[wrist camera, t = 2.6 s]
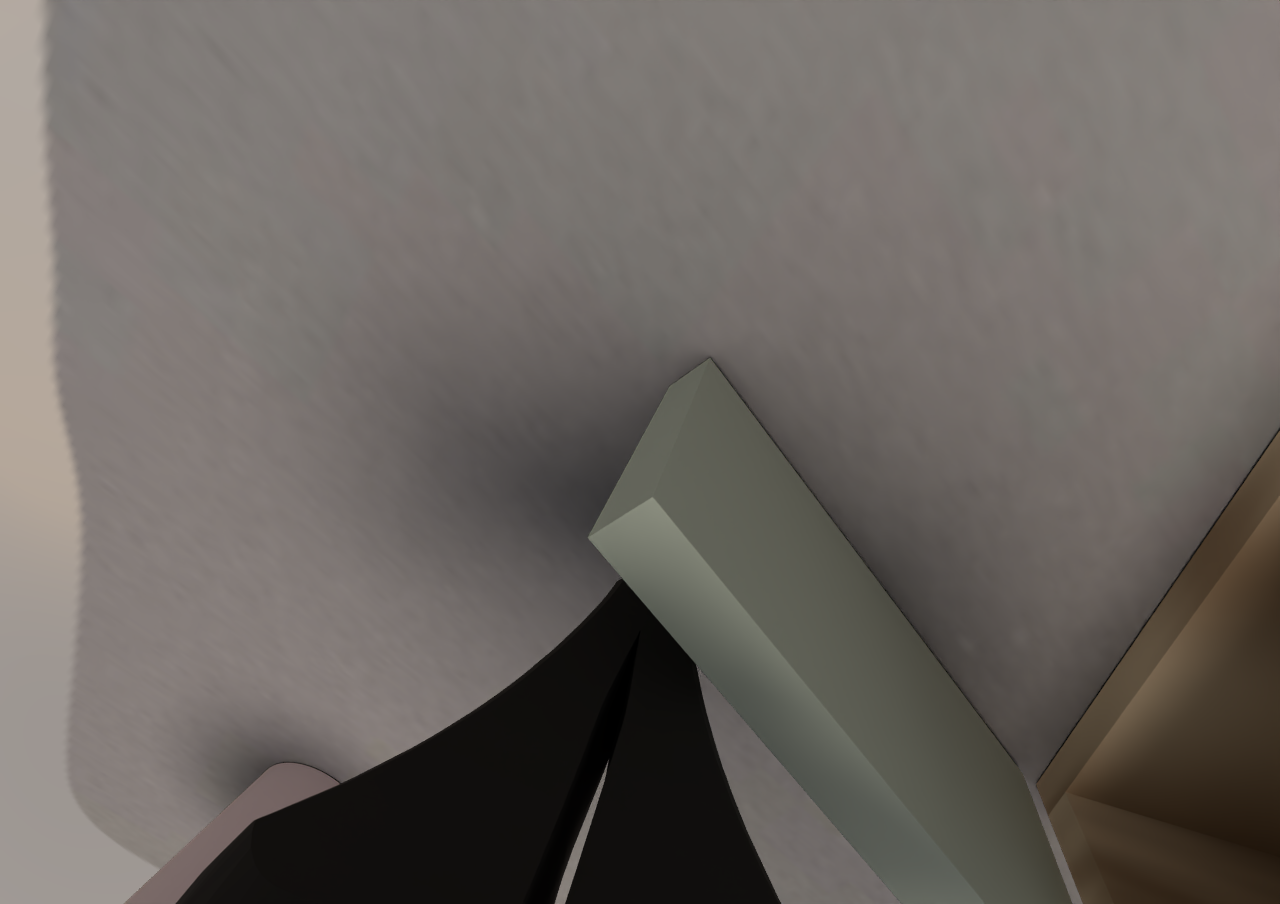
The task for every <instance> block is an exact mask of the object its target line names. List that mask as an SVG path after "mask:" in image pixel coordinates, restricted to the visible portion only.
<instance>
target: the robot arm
mask: <svg viewBox="0 0 1280 904" xmlns="http://www.w3.org/2000/svg"><path fill="white" fill-rule="evenodd" d="M608 760H609V762H608ZM607 763H608V767H607V772H606V777H605V782H604V785H603V788H602V791H601V794H600V797H599V801H598V804H597V807H596V810H595V813H594V816H593V820H592V823H591V826H590V829H589V832H588V835H587V838H586V841H585V844H584V847H583V851H582V854H581V857H580V860H579V863H578V866H577V869H576V872H575V875H574V878H573V881H572V884H571V887H570V891H569V894H568V897H567V900H566V903H565V904H781V902H780V900H779V898H778V896H777V894H776V892H775V890H774V888H773V886H772V883H771V881H770V879H769V877H768V875H767V873H766V871H765V869H764V866H763V864H762V862H761V860H760V858H759V856H758V854H757V851H756V849H755V847H754V845H753V843H752V841H751V839H750V836H749V834H748V832H747V830H746V827H745V825H744V822H743V820H742V817H741V815H740V812H739V810H738V807H737V805H736V802H735V800H734V797H733V795H732V792H731V789H730V786H729V784H728V781H727V778H726V775H725V773H724V770H723V767H722V764H721V761H720V758H719V755H718V751H717V748H716V745H715V742H714V738H713V735H712V731H711V727H710V724H709V720H708V717H707V713H706V709H705V705H704V700H703V696H702V691H701V687H700V682H699V677H698V672H697V667H696V664H695V662H694V661H693V660H692V659H691V658H690V657H689V655H688V654H687V653H686V652H685V651H684V650H683V648H682V647H681V646H680V645H679V644H678V643H677V641H676V640H675V639H674V638H673V637H672V636H671V634H670V633H669V632H668V631H667V630H666V629H665V627H664V626H663V625H662V624H661V623H660V622H659V620H658V619H657V618H656V617H655V616H654V615H653V613H652V612H651V611H650V610H649V609H648V608H647V606H646V605H645V604H644V603H643V602H642V601H641V599H640V598H639V597H638V596H637V595H636V594H635V592H634V591H633V590H632V589H631V588H630V587H629V586H628V584H627V583H626V582H625V581H624V580H623V579H620V580H618V581H617V583H616V584H615V585H614V587H613V588H612V589H611V591H610V592H609V593H608V594H607V596H606V597H605V598H604V599H603V600H602V602H601V603H600V604H599V605H598V606H597V607H596V608H595V609H594V610H593V611H592V613H591V614H590V615H589V616H588V617H587V618H586V619H585V620H584V621H583V622H582V623H581V624H580V625H579V626H578V627H577V628H576V629H575V630H574V631H573V632H571V633H570V634H569V635H568V636H567V637H566V638H565V639H564V640H563V641H562V642H561V643H560V644H559V645H558V646H557V647H556V648H554V649H553V650H552V651H551V652H550V653H549V654H547V655H546V656H545V657H544V658H543V659H541V660H540V661H539V662H538V663H537V664H535V665H534V666H533V667H532V668H531V669H530V670H528V671H527V672H526V673H525V674H524V675H522V676H521V677H520V678H518V679H517V680H516V681H514V682H513V683H512V684H511V685H509V686H508V687H507V688H505V689H504V690H503V691H501V692H500V693H498V694H497V695H496V696H494V697H493V698H491V699H490V700H488V701H487V702H486V703H484V704H483V705H481V706H480V707H478V708H477V709H475V710H474V711H472V712H471V713H469V714H468V715H466V716H464V717H463V718H461V719H460V720H458V721H456V722H455V723H453V724H452V725H450V726H448V727H447V728H445V729H444V730H442V731H440V732H439V733H437V734H435V735H434V736H432V737H430V738H428V739H427V740H425V741H423V742H422V743H420V744H418V745H416V746H414V747H413V748H411V749H409V750H407V751H405V752H403V753H401V754H399V755H397V756H395V757H393V758H391V759H389V760H387V761H385V762H383V763H381V764H379V765H378V766H376V767H374V768H372V769H370V770H368V771H366V772H364V773H362V774H360V775H358V776H356V777H354V778H352V779H350V780H348V781H345V782H343V783H341V784H339V785H337V786H334V787H332V788H330V789H327V790H325V791H323V792H320V793H318V794H316V795H313V796H311V797H308V798H306V799H304V800H301V801H299V802H297V803H294V804H292V805H290V806H287V807H285V808H282V809H280V810H278V811H275V812H273V813H271V814H268V815H266V816H263V817H261V818H258V819H256V820H254V821H253V822H252V823H251V824H250V825H248V826H247V827H246V828H245V829H244V830H243V831H242V832H241V833H240V834H239V835H238V836H237V837H236V838H235V839H234V840H233V841H232V842H231V843H230V844H229V845H228V846H227V847H226V848H225V849H224V850H223V851H222V852H221V853H220V854H219V855H218V856H217V857H216V858H215V859H214V860H213V861H212V862H211V863H210V864H209V865H208V866H207V867H206V868H205V869H204V870H203V871H202V873H201V874H200V875H199V876H198V877H197V878H196V880H195V881H194V882H193V883H192V884H191V886H190V887H189V888H188V889H187V890H186V892H185V893H184V894H183V895H182V896H181V898H180V899H179V900H178V901H177V902H176V904H555V900H556V897H557V894H558V891H559V887H560V884H561V881H562V878H563V875H564V872H565V869H566V866H567V864H568V861H569V858H570V855H571V853H572V850H573V847H574V845H575V842H576V840H577V837H578V835H579V832H580V830H581V827H582V825H583V822H584V820H585V817H586V815H587V812H588V810H589V807H590V805H591V802H592V800H593V797H594V795H595V792H596V790H597V787H598V785H599V783H600V780H601V778H602V775H603V773H604V770H605V768H606V765H607Z"/></svg>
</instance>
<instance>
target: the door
mask: <svg viewBox="0 0 1280 904" xmlns="http://www.w3.org/2000/svg"><path fill="white" fill-rule="evenodd" d="M588 539H589V540H590V541H591V542H592V544H593V545H594V546H595V547H596V548H597V549H598V551H599V552H600V553H601V554H602V555H603V556H604V558H605V559H606V560H607V561H608V562H609V563H610V565H611V566H612V567H613V568H614V569H615V570H616V572H617V573H618V574H619V575H620V576H621V577H622V579H623V580H624V581H625V582H626V583H627V584H628V586H629V587H630V588H631V589H632V590H633V591H634V592H635V594H636V595H637V596H638V597H639V598H640V599H641V601H642V602H643V603H644V604H645V605H646V606H647V608H648V609H649V610H650V611H651V612H652V613H653V615H654V616H655V617H656V618H657V619H658V620H659V622H660V623H661V624H662V625H663V626H664V627H665V629H666V630H667V631H668V632H669V633H670V634H671V636H672V637H673V638H674V639H675V640H676V641H677V643H678V644H679V645H680V646H681V647H682V648H683V650H684V651H685V652H686V653H687V654H688V655H689V657H690V658H691V659H692V660H693V661H694V662H695V664H696V665H697V666H698V667H699V668H700V669H701V671H702V672H703V673H704V674H705V675H706V676H707V678H708V679H709V680H710V681H711V682H712V683H713V685H714V686H715V687H716V688H717V689H718V690H719V692H720V693H721V694H722V695H723V696H724V697H725V699H726V700H727V701H728V702H729V703H730V704H731V706H732V707H733V708H734V709H735V710H736V711H737V713H738V714H739V715H740V716H741V717H742V718H743V720H744V721H745V722H746V723H747V724H748V725H749V727H750V728H751V729H752V730H753V731H754V732H755V734H756V735H757V736H758V737H759V738H760V739H761V741H762V742H763V743H764V744H765V745H766V746H767V748H768V749H769V750H770V751H771V752H772V753H773V755H774V756H775V757H776V758H777V759H778V760H779V762H780V763H781V764H782V765H783V766H784V767H785V769H786V770H787V771H788V772H789V773H790V774H791V775H792V777H793V778H794V779H795V780H796V781H797V782H798V784H799V785H800V786H801V787H802V788H803V789H804V791H805V792H806V793H807V794H808V795H809V796H810V798H811V799H812V800H813V801H814V802H815V803H816V805H817V806H818V807H819V808H820V809H821V810H822V812H823V813H824V814H825V815H826V816H827V817H828V819H829V820H830V821H831V822H832V823H833V824H834V826H835V827H836V828H837V829H838V830H839V831H840V833H841V834H842V835H843V836H844V837H845V838H846V840H847V841H848V842H849V843H850V844H851V845H852V847H853V848H854V849H855V850H856V851H857V852H858V854H859V855H860V856H861V857H862V858H863V859H864V861H865V862H866V863H867V864H868V865H869V866H870V868H871V869H872V870H873V871H874V872H875V873H876V875H877V876H878V877H879V878H880V879H881V880H882V882H883V883H884V884H885V885H886V886H887V887H888V889H889V890H890V891H891V892H892V893H893V894H894V896H895V897H896V898H897V899H898V900H899V901H900V903H901V904H1072V902H1071V899H1070V896H1069V894H1068V891H1067V889H1066V886H1065V883H1064V881H1063V878H1062V875H1061V873H1060V870H1059V868H1058V865H1057V862H1056V860H1055V857H1054V854H1053V852H1052V849H1051V847H1050V844H1049V841H1048V839H1047V836H1046V833H1045V831H1044V828H1043V826H1042V823H1041V820H1040V818H1039V815H1038V812H1037V810H1036V807H1035V805H1034V802H1033V799H1032V797H1031V794H1030V791H1029V789H1028V786H1027V784H1026V781H1025V778H1024V776H1023V774H1022V772H1021V771H1020V770H1019V768H1018V767H1017V766H1016V764H1015V763H1014V762H1013V760H1012V759H1011V758H1010V756H1009V755H1008V754H1007V752H1006V751H1005V750H1004V748H1003V747H1002V746H1001V744H1000V743H999V742H998V740H997V739H996V738H995V736H994V735H993V734H992V732H991V731H990V730H989V728H988V727H987V726H986V724H985V723H984V722H983V720H982V719H981V718H980V716H979V715H978V714H977V712H976V711H975V710H974V708H973V707H972V706H971V704H970V703H969V702H968V700H967V699H966V698H965V696H964V695H963V694H962V692H961V691H960V690H959V688H958V687H957V686H956V684H955V683H954V682H953V680H952V679H951V678H950V676H949V675H948V674H947V672H946V671H945V670H944V668H943V667H942V666H941V664H940V663H939V662H938V660H937V659H936V658H935V656H934V655H933V654H932V652H931V651H930V650H929V648H928V647H927V646H926V644H925V643H924V642H923V640H922V639H921V638H920V636H919V635H918V634H917V632H916V631H915V630H914V628H913V627H912V626H911V624H910V623H909V622H908V621H907V619H906V618H905V617H904V615H903V614H902V613H901V611H900V610H899V609H898V607H897V606H896V605H895V603H894V602H893V601H892V599H891V598H890V597H889V595H888V594H887V593H886V591H885V590H884V589H883V587H882V586H881V585H880V583H879V582H878V581H877V579H876V578H875V577H874V575H873V574H872V573H871V571H870V570H869V569H868V567H867V566H866V565H865V563H864V562H863V561H862V559H861V558H860V557H859V555H858V554H857V553H856V551H855V550H854V549H853V547H852V546H851V545H850V543H849V542H848V541H847V539H846V538H845V537H844V535H843V534H842V533H841V531H840V530H839V529H838V527H837V526H836V525H835V523H834V522H833V521H832V519H831V518H830V517H829V515H828V514H827V513H826V511H825V510H824V509H823V507H822V506H821V505H820V503H819V502H818V501H817V499H816V498H815V497H814V495H813V494H812V493H811V491H810V490H809V489H808V487H807V486H806V485H805V483H804V482H803V481H802V479H801V478H800V477H799V475H798V474H797V473H796V471H795V470H794V469H793V467H792V466H791V465H790V463H789V462H788V461H787V460H786V458H785V457H784V456H783V454H782V453H781V452H780V450H779V449H778V448H777V446H776V445H775V444H774V442H773V441H772V440H771V438H770V437H769V436H768V434H767V433H766V432H765V430H764V429H763V428H762V426H761V425H760V424H759V422H758V421H757V420H756V418H755V417H754V416H753V414H752V413H751V412H750V410H749V409H748V408H747V406H746V405H745V404H744V402H743V401H742V400H741V398H740V397H739V396H738V394H737V393H736V392H735V390H734V389H733V388H732V386H731V385H730V384H729V382H728V381H727V380H726V378H725V377H724V376H723V374H722V373H721V372H720V370H719V369H718V368H717V366H716V365H715V364H714V362H713V361H712V360H711V358H709V359H707V360H706V361H705V362H703V363H702V364H700V365H699V366H698V367H696V368H695V369H693V370H692V371H690V372H689V373H688V374H686V375H685V376H683V377H682V378H681V379H679V380H678V381H676V382H675V383H673V384H672V385H671V386H669V388H668V390H667V392H666V394H665V395H664V397H663V399H662V401H661V403H660V405H659V407H658V408H657V410H656V412H655V414H654V416H653V418H652V419H651V421H650V423H649V425H648V427H647V429H646V431H645V432H644V434H643V436H642V438H641V440H640V442H639V444H638V445H637V447H636V449H635V451H634V453H633V455H632V456H631V458H630V460H629V462H628V464H627V466H626V468H625V469H624V471H623V473H622V475H621V477H620V479H619V480H618V482H617V484H616V486H615V488H614V490H613V492H612V493H611V495H610V497H609V499H608V501H607V503H606V505H605V506H604V508H603V510H602V512H601V514H600V516H599V517H598V519H597V521H596V523H595V525H594V527H593V529H592V530H591V532H590V534H589V536H588Z"/></svg>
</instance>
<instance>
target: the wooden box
mask: <svg viewBox="0 0 1280 904" xmlns="http://www.w3.org/2000/svg"><path fill="white" fill-rule="evenodd" d="M1036 786H1037V788H1038V791H1039V793H1040V796H1041V799H1042V801H1043V804H1044V806H1045V809H1046V811H1047V814H1048V816H1049V819H1050V821H1051V824H1052V826H1053V829H1054V831H1055V834H1056V836H1057V839H1058V841H1059V844H1060V847H1061V849H1062V852H1063V854H1064V857H1065V859H1066V862H1067V864H1068V867H1069V869H1070V872H1071V874H1072V877H1073V879H1074V882H1075V884H1076V887H1077V889H1078V892H1079V895H1080V897H1081V900H1082V902H1083V904H1280V431H1279V432H1278V434H1277V435H1276V437H1275V438H1274V440H1273V441H1272V442H1271V444H1270V445H1269V447H1268V448H1267V450H1266V451H1265V453H1264V454H1263V456H1262V457H1261V458H1260V460H1259V461H1258V463H1257V464H1256V466H1255V467H1254V469H1253V470H1252V472H1251V473H1250V474H1249V476H1248V477H1247V479H1246V480H1245V482H1244V483H1243V485H1242V486H1241V488H1240V489H1239V490H1238V492H1237V493H1236V495H1235V496H1234V498H1233V499H1232V501H1231V502H1230V504H1229V505H1228V506H1227V508H1226V509H1225V511H1224V512H1223V514H1222V515H1221V517H1220V518H1219V519H1218V521H1217V522H1216V524H1215V525H1214V527H1213V528H1212V530H1211V531H1210V533H1209V534H1208V535H1207V537H1206V538H1205V540H1204V541H1203V543H1202V544H1201V546H1200V547H1199V549H1198V550H1197V551H1196V553H1195V554H1194V556H1193V557H1192V559H1191V560H1190V562H1189V563H1188V565H1187V566H1186V567H1185V569H1184V570H1183V572H1182V573H1181V575H1180V576H1179V578H1178V579H1177V581H1176V582H1175V583H1174V585H1173V586H1172V588H1171V589H1170V591H1169V592H1168V594H1167V595H1166V597H1165V598H1164V599H1163V601H1162V602H1161V604H1160V605H1159V607H1158V608H1157V610H1156V611H1155V613H1154V614H1153V615H1152V617H1151V618H1150V620H1149V621H1148V623H1147V624H1146V626H1145V627H1144V628H1143V630H1142V631H1141V633H1140V634H1139V636H1138V637H1137V639H1136V640H1135V642H1134V643H1133V644H1132V646H1131V647H1130V649H1129V650H1128V652H1127V653H1126V655H1125V656H1124V658H1123V659H1122V660H1121V662H1120V663H1119V665H1118V666H1117V668H1116V669H1115V671H1114V672H1113V674H1112V675H1111V676H1110V678H1109V679H1108V681H1107V682H1106V684H1105V685H1104V687H1103V688H1102V690H1101V691H1100V692H1099V694H1098V695H1097V697H1096V698H1095V700H1094V701H1093V703H1092V704H1091V706H1090V707H1089V708H1088V710H1087V711H1086V713H1085V714H1084V716H1083V717H1082V719H1081V720H1080V722H1079V723H1078V724H1077V726H1076V727H1075V729H1074V730H1073V732H1072V733H1071V735H1070V736H1069V737H1068V739H1067V740H1066V742H1065V743H1064V745H1063V746H1062V748H1061V749H1060V751H1059V752H1058V753H1057V755H1056V756H1055V758H1054V759H1053V761H1052V762H1051V764H1050V765H1049V767H1048V768H1047V769H1046V771H1045V772H1044V774H1043V775H1042V777H1041V778H1040V780H1039V781H1038V783H1037V784H1036Z"/></svg>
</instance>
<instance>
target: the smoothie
mask: <svg viewBox="0 0 1280 904" xmlns="http://www.w3.org/2000/svg"><path fill="white" fill-rule="evenodd" d="M337 785H339V783H338V782H337V781H336V780H334V779H333V778H331V777H330V776H328V775H327V774H325V773H323V772H321V771H319V770H317V769H315V768H312V767H309V766H306V765H302V764H297V763H280V764H276V765H273V766H271V767H270V768H268V769H267V770H266V771H265V772H264V773H263V774H262V775H261V776H260V777H259V778H258V779H257V780H255V781H254V782H253V783H252V784H251V785H250V786H249V787H248V788H247V789H246V790H245V791H244V792H243V793H242V794H241V795H239V796H238V797H237V798H236V799H235V800H234V801H233V802H232V803H231V804H230V805H229V806H228V807H227V808H226V809H224V810H223V811H222V812H221V813H220V814H219V815H218V816H217V817H216V818H215V819H214V820H213V821H212V822H211V823H209V824H208V825H207V826H206V827H205V828H204V829H203V830H202V831H201V832H200V833H199V834H198V835H197V836H196V837H194V838H193V839H192V840H191V841H190V842H189V843H188V844H187V845H186V846H185V847H184V848H183V849H182V850H181V851H179V852H178V853H177V854H176V855H175V856H174V857H173V858H172V859H171V860H170V861H169V862H168V863H167V864H166V865H165V866H163V867H162V868H161V869H160V870H159V871H158V872H157V873H156V874H155V875H154V876H153V877H152V878H151V879H150V880H148V882H146V883H145V884H144V885H143V886H142V887H141V888H140V889H139V890H138V891H137V892H136V893H135V894H134V895H133V896H131V897H130V898H129V899H128V900H127V901H126V902H125V903H124V904H176V902H177V901H178V900H179V899H180V898H181V896H182V895H183V894H184V893H185V892H186V890H187V889H188V888H189V887H190V886H191V884H192V883H193V882H194V881H195V880H196V878H197V877H198V876H199V875H200V874H201V873H202V871H203V870H204V869H205V868H206V867H207V866H208V865H209V864H210V863H211V862H212V861H213V860H214V859H215V858H216V857H217V856H218V855H219V854H220V853H221V852H222V851H223V850H224V849H225V848H226V847H227V846H228V845H229V844H230V843H231V842H232V841H233V840H234V839H235V838H236V837H237V836H238V835H239V834H240V833H241V832H242V831H243V830H244V829H245V828H246V827H247V826H248V825H250V824H251V823H252V822H253V821H254V820H256V819H258V818H261V817H263V816H266V815H268V814H271V813H273V812H275V811H278V810H280V809H282V808H285V807H287V806H290V805H292V804H294V803H297V802H299V801H301V800H304V799H306V798H308V797H311V796H313V795H316V794H318V793H320V792H323V791H325V790H327V789H330V788H332V787H334V786H337Z"/></svg>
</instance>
